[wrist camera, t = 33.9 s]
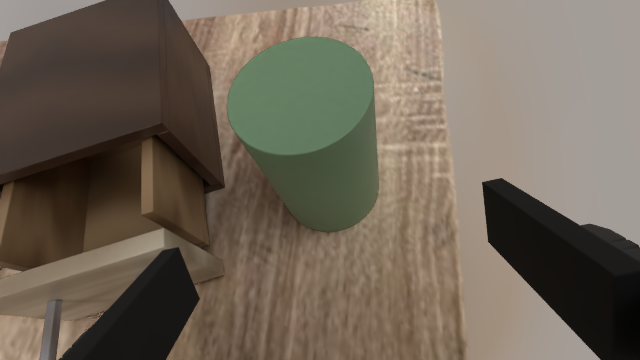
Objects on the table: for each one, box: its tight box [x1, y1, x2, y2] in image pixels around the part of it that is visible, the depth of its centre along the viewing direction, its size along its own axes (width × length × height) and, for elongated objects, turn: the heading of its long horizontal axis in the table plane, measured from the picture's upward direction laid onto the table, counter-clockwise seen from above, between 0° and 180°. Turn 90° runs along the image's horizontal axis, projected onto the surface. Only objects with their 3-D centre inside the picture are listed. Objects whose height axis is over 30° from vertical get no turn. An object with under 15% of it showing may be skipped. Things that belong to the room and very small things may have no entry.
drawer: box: [0, 134, 224, 360], centre depth 25 cm, size 20×13×8 cm, turn 14°
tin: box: [227, 37, 379, 232], centre depth 23 cm, size 8×8×12 cm
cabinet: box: [0, 0, 225, 199], centre depth 30 cm, size 16×14×10 cm
